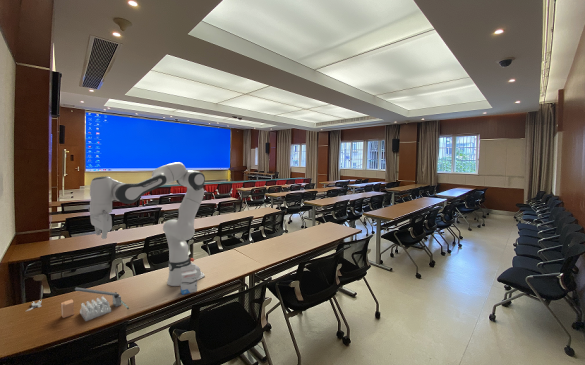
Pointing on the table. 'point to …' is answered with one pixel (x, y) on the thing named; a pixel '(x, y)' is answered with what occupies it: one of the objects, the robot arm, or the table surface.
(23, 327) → the table surface
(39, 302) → the pliers
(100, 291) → the strap
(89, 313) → the heatsink
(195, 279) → the ink box
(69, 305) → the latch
